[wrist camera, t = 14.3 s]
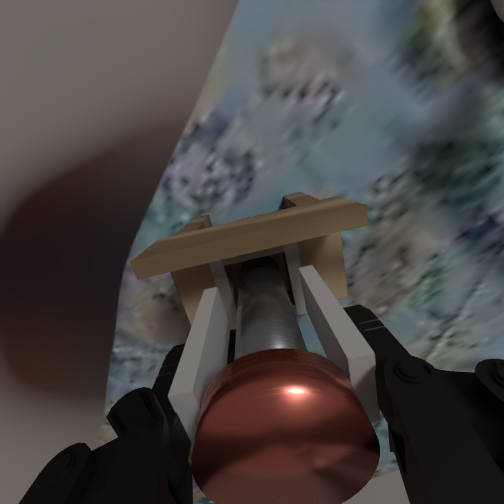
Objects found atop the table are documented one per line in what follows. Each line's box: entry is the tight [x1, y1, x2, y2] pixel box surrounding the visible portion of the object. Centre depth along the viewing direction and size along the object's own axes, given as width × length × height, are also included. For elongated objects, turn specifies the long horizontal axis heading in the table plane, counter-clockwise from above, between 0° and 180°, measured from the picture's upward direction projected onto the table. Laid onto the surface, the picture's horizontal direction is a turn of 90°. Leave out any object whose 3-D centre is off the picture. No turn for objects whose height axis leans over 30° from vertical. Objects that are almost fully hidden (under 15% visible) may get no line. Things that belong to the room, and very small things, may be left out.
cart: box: [130, 192, 368, 330], centre depth 19 cm, size 10×12×12 cm
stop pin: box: [191, 256, 380, 504], centre depth 11 cm, size 5×5×11 cm
